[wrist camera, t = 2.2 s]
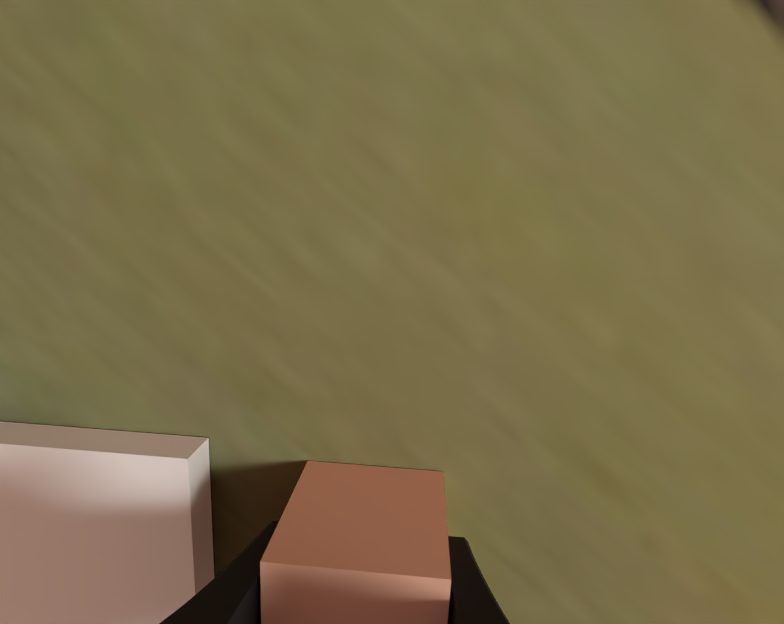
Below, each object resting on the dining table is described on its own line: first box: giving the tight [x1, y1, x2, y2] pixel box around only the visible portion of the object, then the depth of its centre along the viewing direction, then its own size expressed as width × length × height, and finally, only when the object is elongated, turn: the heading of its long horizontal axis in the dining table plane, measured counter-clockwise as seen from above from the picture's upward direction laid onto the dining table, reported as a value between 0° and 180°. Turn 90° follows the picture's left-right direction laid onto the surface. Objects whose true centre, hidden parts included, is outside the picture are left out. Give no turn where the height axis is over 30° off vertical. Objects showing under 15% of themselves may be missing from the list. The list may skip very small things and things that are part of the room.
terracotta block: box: [260, 461, 451, 624], centre depth 12 cm, size 4×4×4 cm
